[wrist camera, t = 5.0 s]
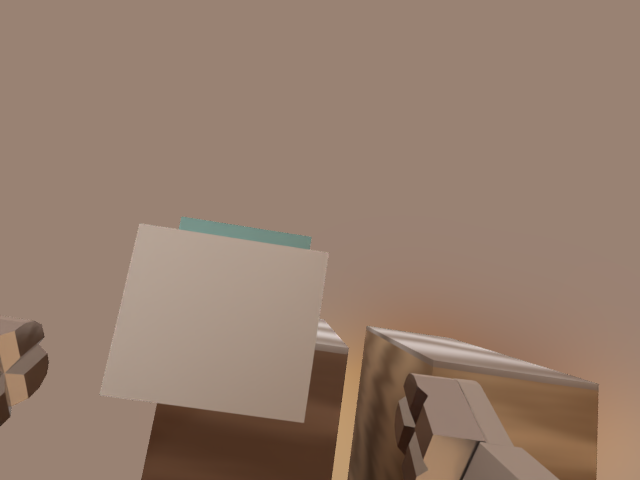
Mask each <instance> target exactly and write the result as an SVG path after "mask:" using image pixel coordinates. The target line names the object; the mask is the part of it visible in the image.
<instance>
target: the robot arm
mask: <svg viewBox="0 0 640 480" xmlns="http://www.w3.org/2000/svg"><path fill="white" fill-rule="evenodd" d="M43 338H44V333H43V328H42V324H39V323H38V322H36V321H33V320H26V319H20V318H13V317H8V316H1V315H0V426H1V425H2V424H3V423H4V422H5V421H6V420H7V419H8V418H9V417H10V416H11V409H12V406H14V405H16V404H18V403H20V402H22V401H24V400H26V399H28V398H29V397H30V396H31V395H32V394H33V393H34V392H35V391H36V390H37V389H38V388H39V387H40V385H41V383H42V382H43V380H44V378H45V376H46V374H47V370H48V364H49V361H48V355H47V353H46V352H45V351H44V349H43V348H42V347H41V346H40V345H39V343H40V342H41V341H42V340H43ZM403 387H404V391H405V395H406V396H405V397H404V398H402V399H401V400H399V401H398V405H397V409H396V412H395V424H394V426H395V437H396V443H397V447H398V448H399V449H400V450H401V452H402V453H403V454H404V455H405V457H404V460H403V463H402V466H401V468H402V472H403V477H404V480H559V479H558V478H557V477H556V476H555V475H553V474H552V473H551V472H550V471H549V470H548V469H546V468H545V467H544V466H543V465H542V464H540V463H539V462H538V461H537V460H536V459H534V458H533V457H532V456H531V455H530V454H529V453H527V452H526V451H525V450H524V449H523V448H520V447H514V445H513V443H512V441H511V440H510V438H509V436H508V434H507V432H506V431H505V429H504V427H503V425H502V423H501V421H500V420H499V418H498V416H497V414H496V412H495V411H494V409H493V407H492V405H491V403H490V402H489V400H488V398H487V396H486V394H485V392H484V391H483V389H482V387H481V385H480V384H479V383H478V382H476V381H473V380H464V379H456V378H453V379H451V378H444V377H437V376H429V375H422V374H414V373H409V374H408V376H407V377H406V380H405V383H404V386H403Z"/></svg>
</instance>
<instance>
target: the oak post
mask: <svg viewBox="0 0 640 480" xmlns="http://www.w3.org/2000/svg"><path fill="white" fill-rule="evenodd" d="M409 373H414V374H422V375H429V376H437V377H444V378H451V379H453V378H456V379H464V380H473V381H476V382H478V383H479V384H480V385H481V387H482V389H483V391H484V392H485V394H486V396H487V398H488V400H489V402H490V403H491V405H492V407H493V409H494V411H495V412H496V414H497V416H498V418H499V420H500V421H501V423H502V425H503V427H504V429H505V431H506V432H507V434H508V436H509V438H510V440H511V441H512V443H513V445H514V447H520V448H523V449H524V450H525V451H526V452H527V453H529V454H530V455H531V456H532V457H533V458H534V459H536V460H537V461H538V462H539V463H540V464H542V465H543V466H544V467H545V468H546V469H548V470H549V471H550V472H551V473H552V474H553V475H555V476H556V477H557V478H558V479H559V480H596V470H597V428H598V427H597V425H598V384H597V383H593V382H590V381H587V380H584V379H580V378H577V377H574V376H571V375H568V374H564V373H561V372H558V371H555V370H551V369H548V368H545V367H542V366H539V365H535V364H532V363H529V362H526V361H522V360H519V359H516V358H513V357H510V356H506V355H503V354H500V353H496V352H493V351H490V350H487V349H484V348H481V347H477V346H474V345H471V344H468V343H464V342H461V341H458V340H455V339H451V338H445V337H438V336H431V335H425V334H418V333H411V332H405V331H397V330H391V329H384V328H377V327H370V326H367V327H366V335H365V344H364V352H363V359H362V368H361V376H360V384H359V392H358V400H357V408H356V416H355V424H354V432H353V440H352V448H351V456H350V464H349V472H348V480H404V477H403V472H402V468H401V466H402V463H403V460H404V457H405V455H404V454H403V453H402V452H401V450H400V449H399V448H398V447H397V443H396V437H395V426H394V424H395V412H396V409H397V405H398V401H399V400H401V399H402V398H404V397H405V396H406V395H405V391H404V387H403V386H404V383H405V380H406V377H407V376H408V374H409Z"/></svg>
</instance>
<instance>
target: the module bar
mask: <svg viewBox="0 0 640 480" xmlns="http://www.w3.org/2000/svg"><path fill="white" fill-rule="evenodd" d="M310 243H311V237H308V236H302V235H295V234H289V233H283V232H275V231H269V230H263V229H257V228H251V227H244V226H238V225H232V224H225V223H219V222H212V221H206V220H200V219H193V218H187V217H181V223H180V227H179V229H173V228H167V227H160V226H154V225H147V224H141V223H140V224H139V228H138V232H137V237H136V241H135V245H134V249H133V254H132V258H131V262H130V267H129V271H128V275H127V279H126V284H125V288H124V292H123V297H122V301H121V305H120V310H119V314H118V318H117V322H116V326H115V331H114V335H113V339H112V344H111V348H110V352H109V356H108V361H107V365H106V370H105V374H104V378H103V382H102V386H101V391H100V395H102V396H110V397H116V398H124V399H131V400H139V401H146V402H154V403H161V404H168V405H175V406H183V407H190V408H198V409H205V410H212V411H220V412H227V413H234V414H242V415H249V416H256V417H264V418H271V419H279V420H286V421H293V422H301V423H304V419H305V412H306V406H307V399H308V392H309V385H310V378H311V371H312V364H313V358H314V351H315V344H316V337H317V330H318V323H319V316H320V309H321V302H322V295H323V289H324V282H325V275H326V268H327V261H328V254H329V253H328V252H321V251H315V250H310Z"/></svg>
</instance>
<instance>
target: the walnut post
mask: <svg viewBox="0 0 640 480" xmlns="http://www.w3.org/2000/svg"><path fill="white" fill-rule="evenodd" d="M348 349H349V348H348V347H347V345H346V344H345V343H344V342H343V341H342V340H341V339H340V338H339V336H338V335H337V334H336V333H335V332H334V331H333V330H332V328H331V327H330V326H329V325H328V324H327V323H326V322H325V320H323V319H319V323H318V330H317V337H316V344H315V351H314V358H313V364H312V371H311V378H310V385H309V392H308V399H307V406H306V412H305V419H304V423H301V422H293V421H286V420H279V419H271V418H264V417H256V416H249V415H242V414H234V413H227V412H220V411H212V410H205V409H198V408H190V407H183V406H175V405H168V404H161V403H157V407H156V412H155V416H154V421H153V426H152V431H151V435H150V440H149V445H148V450H147V455H146V459H145V465H144V469H143V474H142V479H141V480H331V478H332V471H333V463H334V456H335V448H336V441H337V433H338V425H339V417H340V410H341V402H342V395H343V386H344V380H345V372H346V364H347V357H348Z"/></svg>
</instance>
